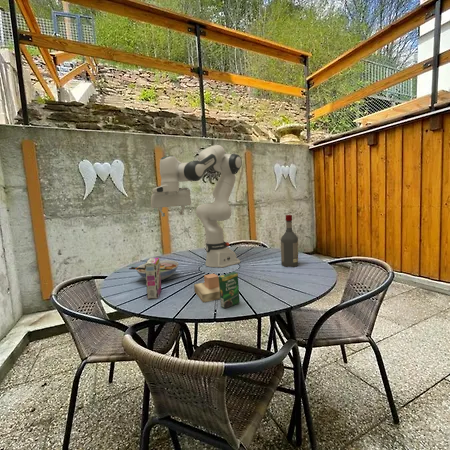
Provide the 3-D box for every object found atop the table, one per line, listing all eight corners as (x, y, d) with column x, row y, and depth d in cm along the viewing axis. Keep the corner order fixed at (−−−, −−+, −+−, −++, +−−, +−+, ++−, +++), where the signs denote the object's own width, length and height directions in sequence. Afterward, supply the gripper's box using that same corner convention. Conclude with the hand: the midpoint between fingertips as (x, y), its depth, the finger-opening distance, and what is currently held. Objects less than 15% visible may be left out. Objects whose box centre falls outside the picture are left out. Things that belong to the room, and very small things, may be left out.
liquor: (280, 266, 156) (279, 216, 152) (283, 262, 165) (282, 214, 161) (296, 267, 153) (295, 216, 149) (298, 263, 161) (297, 214, 157)
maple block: (218, 287, 129) (217, 279, 129) (229, 298, 116) (228, 289, 116) (194, 292, 125) (194, 284, 125) (203, 303, 112) (202, 294, 112)
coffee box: (223, 309, 105) (221, 277, 103) (219, 306, 107) (218, 275, 105) (240, 303, 109) (238, 273, 107) (236, 301, 111) (234, 271, 110)
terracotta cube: (214, 283, 124) (213, 273, 123) (219, 286, 119) (218, 276, 119) (204, 285, 122) (204, 275, 121) (208, 289, 117) (208, 278, 117)
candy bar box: (158, 298, 119) (155, 263, 116) (147, 299, 118) (143, 264, 116) (162, 289, 130) (159, 257, 128) (152, 290, 129) (148, 257, 127)
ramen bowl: (188, 273, 154) (187, 259, 153) (169, 287, 132) (168, 271, 131) (150, 271, 161) (149, 258, 160) (126, 285, 139) (124, 270, 138)
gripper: (188, 187, 141) (190, 213, 143) (148, 189, 133) (151, 216, 135) (191, 187, 135) (193, 214, 137) (151, 189, 127) (153, 217, 129)
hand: (172, 215), depth 136 cm, fingers open, 8 cm apart
